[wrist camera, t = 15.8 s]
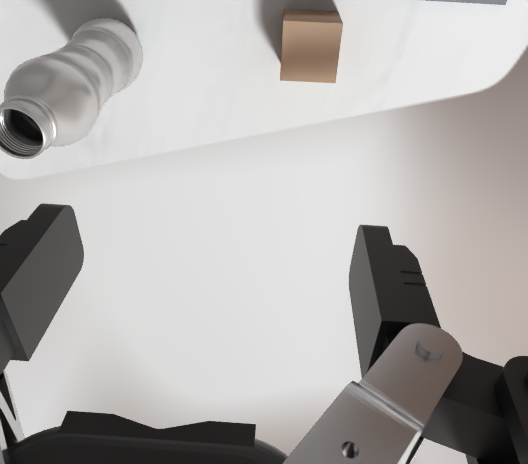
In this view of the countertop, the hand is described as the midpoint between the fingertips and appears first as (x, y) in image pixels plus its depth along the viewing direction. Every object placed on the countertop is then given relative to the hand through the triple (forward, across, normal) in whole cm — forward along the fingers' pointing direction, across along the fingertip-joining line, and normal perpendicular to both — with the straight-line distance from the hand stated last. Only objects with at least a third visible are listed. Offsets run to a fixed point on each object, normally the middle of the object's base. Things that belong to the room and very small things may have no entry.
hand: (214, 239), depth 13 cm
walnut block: (+36, -4, +3) cm, 37 cm away
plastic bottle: (+36, +15, +5) cm, 40 cm away
